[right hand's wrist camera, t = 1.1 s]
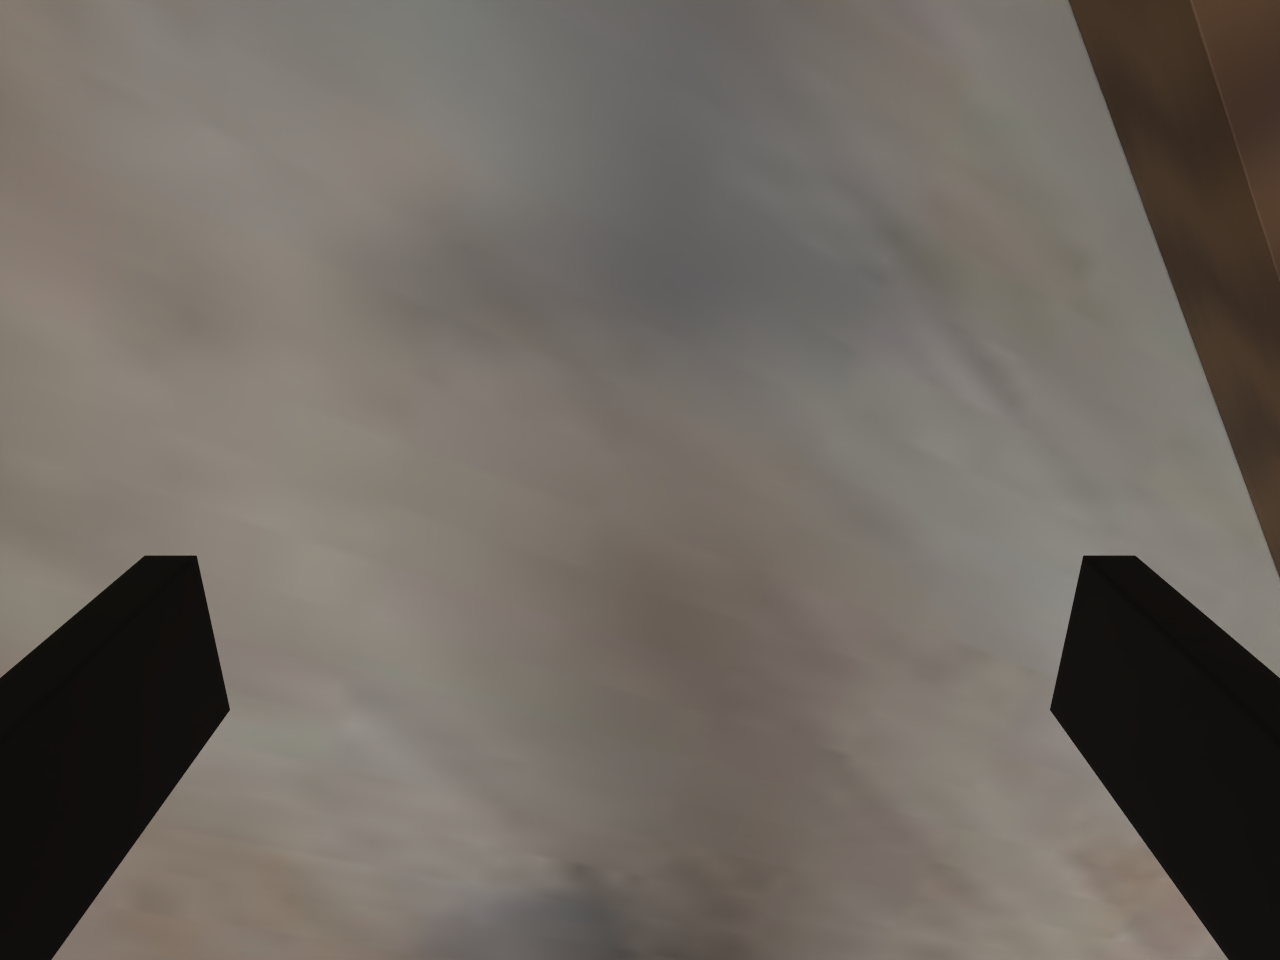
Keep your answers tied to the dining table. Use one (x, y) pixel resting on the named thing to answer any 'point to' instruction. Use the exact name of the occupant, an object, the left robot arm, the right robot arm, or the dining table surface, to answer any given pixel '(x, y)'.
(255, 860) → the dining table surface
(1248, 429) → the thick board
